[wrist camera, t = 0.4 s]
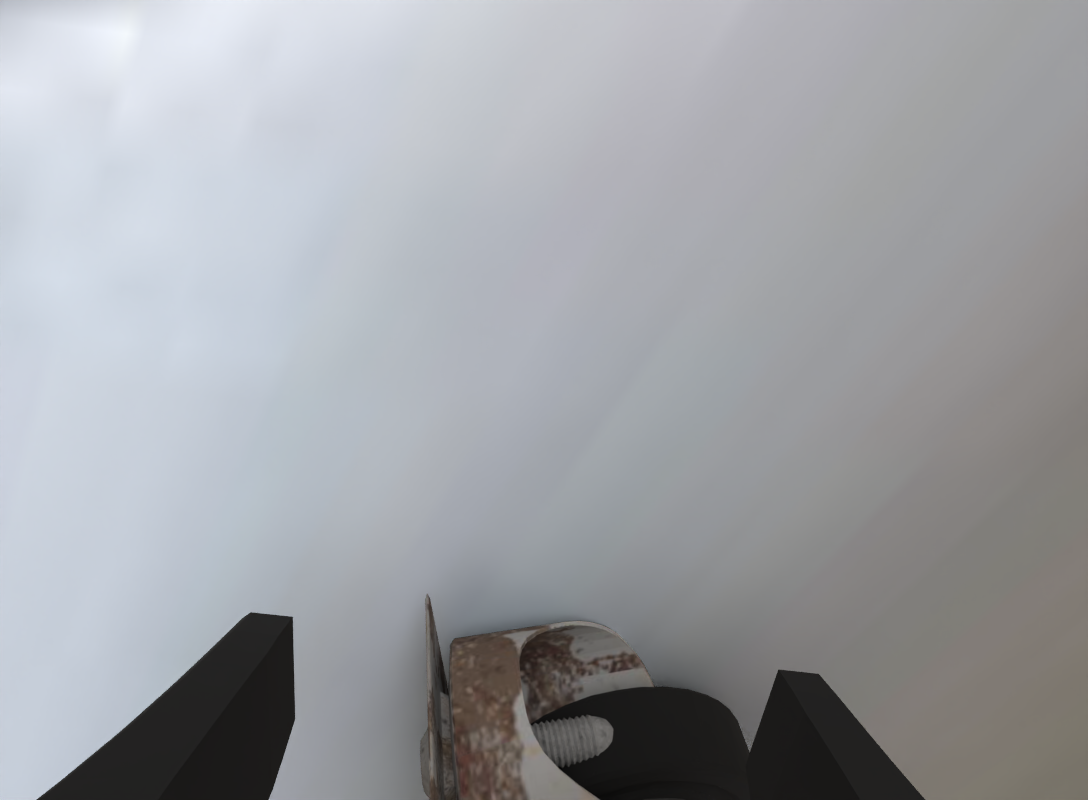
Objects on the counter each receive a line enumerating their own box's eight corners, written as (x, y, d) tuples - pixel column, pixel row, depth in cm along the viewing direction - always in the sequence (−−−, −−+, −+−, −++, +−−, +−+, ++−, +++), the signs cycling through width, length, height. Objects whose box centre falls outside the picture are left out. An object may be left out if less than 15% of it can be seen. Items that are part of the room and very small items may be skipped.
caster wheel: (705, 740, 29) (450, 782, 28) (742, 544, 22) (406, 592, 21) (772, 941, 23) (460, 1002, 22) (848, 765, 17) (404, 842, 16)
